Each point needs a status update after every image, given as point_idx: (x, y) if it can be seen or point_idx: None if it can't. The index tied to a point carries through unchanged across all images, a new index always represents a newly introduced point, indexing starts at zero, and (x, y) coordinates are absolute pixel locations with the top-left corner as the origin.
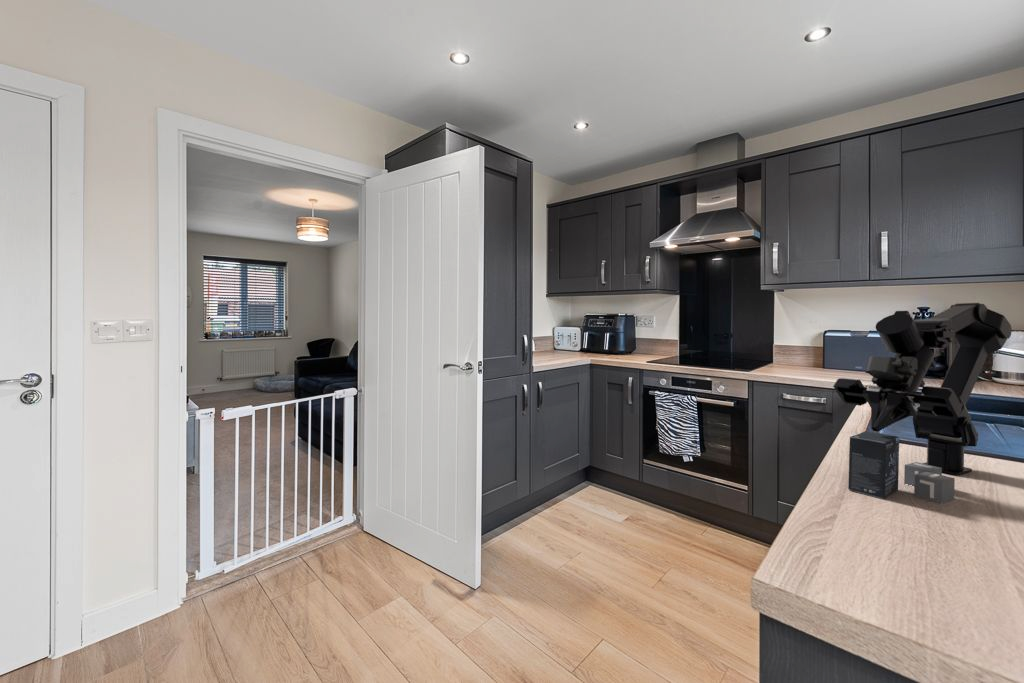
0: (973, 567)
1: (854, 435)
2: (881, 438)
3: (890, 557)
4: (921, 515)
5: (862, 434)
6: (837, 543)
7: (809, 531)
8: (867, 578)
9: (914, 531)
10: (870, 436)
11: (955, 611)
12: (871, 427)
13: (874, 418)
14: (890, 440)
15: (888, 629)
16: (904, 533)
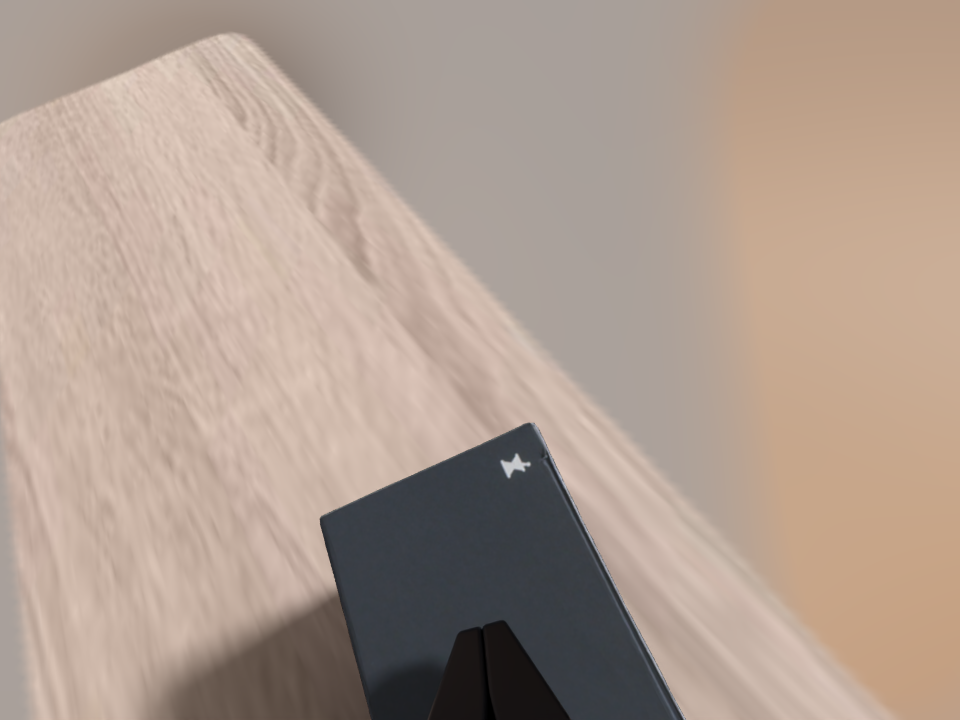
0: (62, 339)
1: (574, 507)
2: (415, 622)
3: (175, 225)
4: (265, 535)
5: (572, 590)
6: (260, 179)
7: (323, 166)
8: (160, 141)
9: (212, 388)
10: (491, 587)
11: (45, 182)
12: (501, 620)
13: (519, 715)
14: (354, 651)
15: (88, 87)
16: (219, 351)
